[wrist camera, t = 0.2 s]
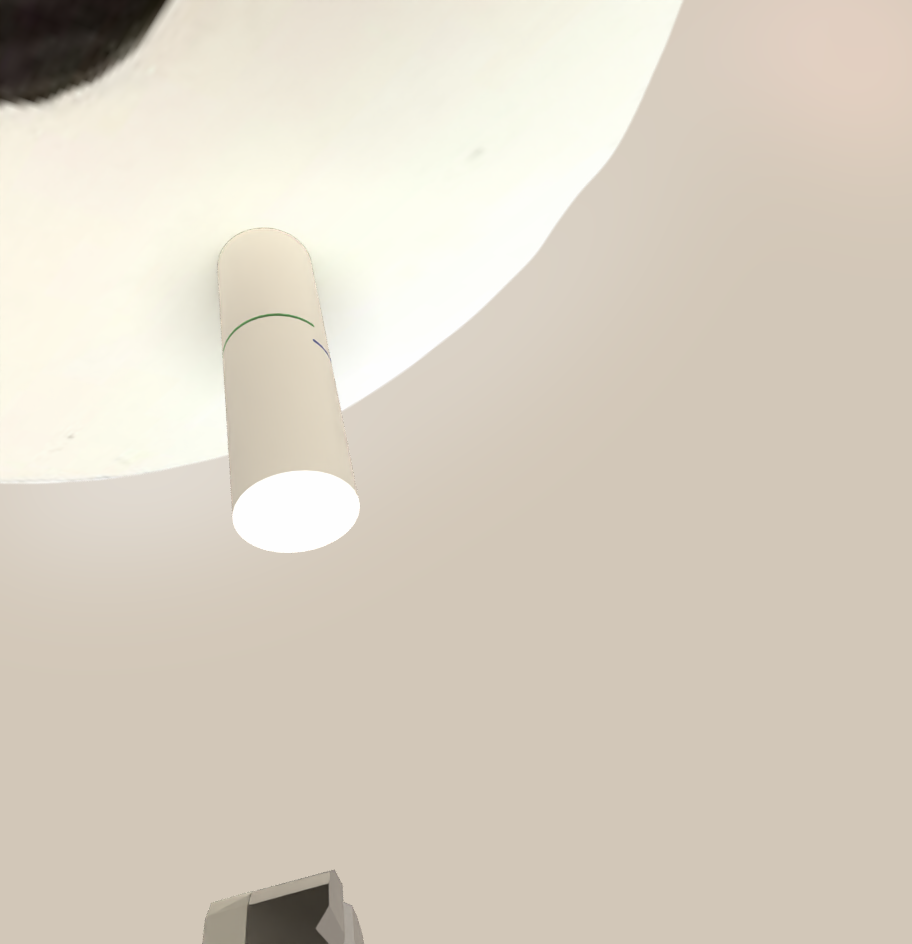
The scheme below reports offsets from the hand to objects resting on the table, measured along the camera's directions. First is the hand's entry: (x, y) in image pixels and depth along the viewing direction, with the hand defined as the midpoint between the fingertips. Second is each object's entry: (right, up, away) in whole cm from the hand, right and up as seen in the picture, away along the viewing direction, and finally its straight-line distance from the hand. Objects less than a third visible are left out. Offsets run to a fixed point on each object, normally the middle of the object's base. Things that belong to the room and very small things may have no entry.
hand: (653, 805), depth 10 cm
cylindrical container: (-17, +20, +52) cm, 58 cm away
